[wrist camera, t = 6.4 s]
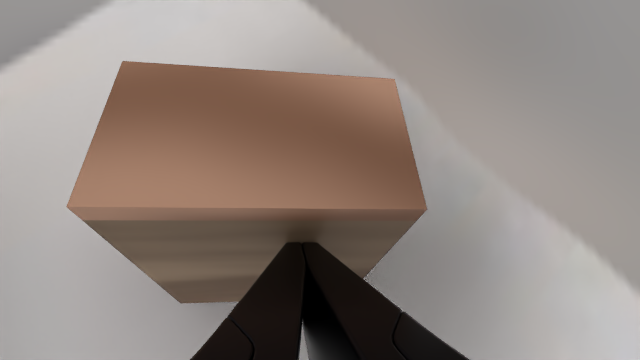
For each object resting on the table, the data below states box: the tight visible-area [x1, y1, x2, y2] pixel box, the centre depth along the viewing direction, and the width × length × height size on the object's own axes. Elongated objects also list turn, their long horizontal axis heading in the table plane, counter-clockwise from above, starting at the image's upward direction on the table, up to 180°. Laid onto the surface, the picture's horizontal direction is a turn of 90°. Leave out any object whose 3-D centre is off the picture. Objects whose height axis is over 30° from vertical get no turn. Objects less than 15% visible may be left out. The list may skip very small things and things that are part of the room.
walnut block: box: [67, 61, 427, 303], centre depth 11 cm, size 4×7×9 cm, turn 92°
